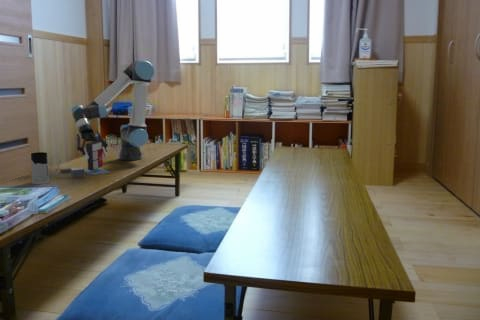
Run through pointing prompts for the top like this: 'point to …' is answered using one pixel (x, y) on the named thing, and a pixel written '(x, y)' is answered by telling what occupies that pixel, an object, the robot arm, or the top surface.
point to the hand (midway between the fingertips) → (97, 157)
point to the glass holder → (40, 168)
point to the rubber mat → (96, 171)
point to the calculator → (94, 155)
